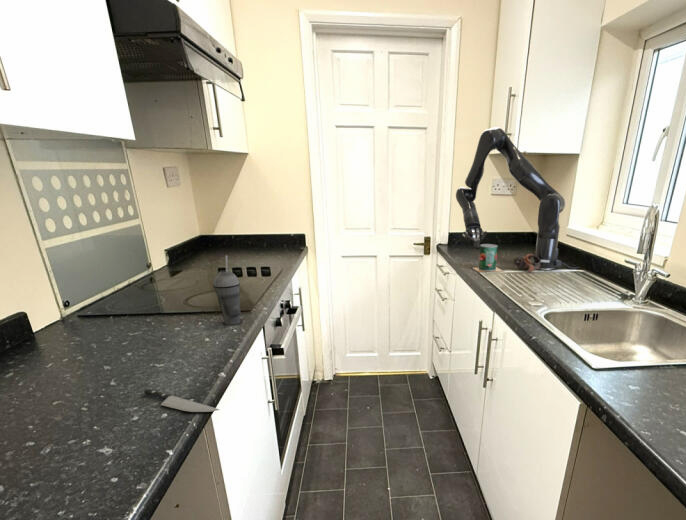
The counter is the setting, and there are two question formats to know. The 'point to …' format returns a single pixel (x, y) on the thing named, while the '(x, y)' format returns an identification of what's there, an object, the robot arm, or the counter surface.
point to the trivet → (486, 271)
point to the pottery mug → (527, 262)
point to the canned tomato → (488, 257)
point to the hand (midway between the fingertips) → (477, 248)
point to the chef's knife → (180, 402)
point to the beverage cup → (228, 295)
